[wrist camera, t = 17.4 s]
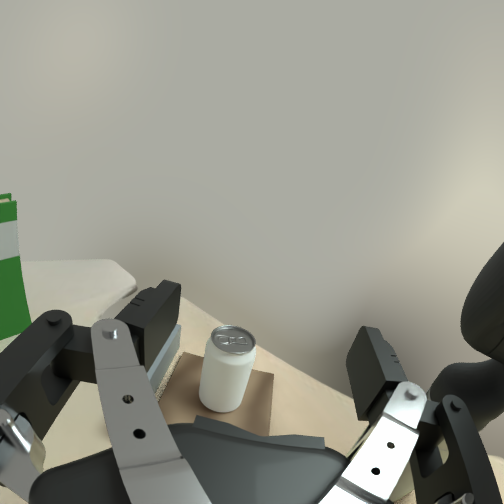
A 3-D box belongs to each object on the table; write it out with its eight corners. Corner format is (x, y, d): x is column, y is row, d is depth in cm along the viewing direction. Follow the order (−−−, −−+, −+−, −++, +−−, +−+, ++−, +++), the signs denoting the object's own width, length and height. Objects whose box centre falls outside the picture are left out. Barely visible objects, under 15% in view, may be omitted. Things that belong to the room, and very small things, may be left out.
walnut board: (272, 377, 45) (273, 373, 45) (265, 453, 30) (267, 450, 30) (183, 355, 46) (183, 351, 46) (150, 423, 31) (150, 420, 31)
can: (197, 381, 40) (205, 321, 36) (237, 382, 41) (253, 324, 37) (200, 413, 34) (209, 354, 30) (244, 413, 36) (264, 356, 32)
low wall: (179, 346, 48) (181, 325, 46) (130, 441, 27) (126, 422, 25) (173, 345, 48) (174, 323, 46) (122, 437, 27) (117, 418, 26)
